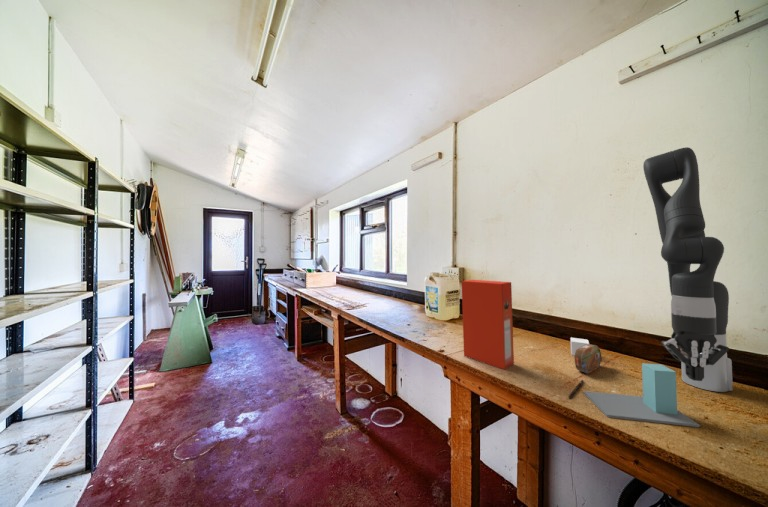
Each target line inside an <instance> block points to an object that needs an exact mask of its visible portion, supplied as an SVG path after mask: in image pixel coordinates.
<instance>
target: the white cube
mask: <svg viewBox="0 0 768 507" xmlns="http://www.w3.org/2000/svg"><path fill="white" fill-rule="evenodd" d="M587 344H590V342H589V340H588V339H586V338H585V339H584V338H577V337H570V353H571V356H573V357H574V356H575V352H576V350H577V349H578V348H580V347H583V346H585V345H587Z"/></svg>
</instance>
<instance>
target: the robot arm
mask: <svg viewBox="0 0 768 507" xmlns="http://www.w3.org/2000/svg"><path fill="white" fill-rule="evenodd" d="M642 167H643V172H644V173H643V174H644V177H645V180H646V183H647V186H648V189H649V192H650V195H651V196H650V197H651V198H652V202H653V204H654V209H655V215H656V219H657V225H658V230H659V231H658V232H659V235H660V239H661V242H662V246H661V249H660V250H661V251H660V256H661V258H662V259H663V260H664V262H666V265H667V271H668V282H669V290H670V295H671V296H670V297H671V300H670V310H671V312H670V315H671V316H670V317H671V328H672V334H671V335H670V336H671V338H670V339H668V340H662V341H661V345H662V346H663V348H665V349H666V351H667V352H668V353H670V355H671V356H672V357H673V358H674V359H675V360H677V361H679V362H681V363H680V364H681V365H680V366H681V368H680V369H681V380H682V381H683V382H684V383H685V384H688V385H690V386H693V387H695V388H699V389H702V390H707V391H712V392H719V393H726V392H729V391H731V392H733V390H734V388H733V365H732V364H733V362H732V359H731V358H729V357H728V352H729V351H730V348H729V346H728V345H727V344H728V343H727V327H728V324H729V323H728V322H729V303H730V301H729V300H730V295H729V290H728V288H727V287H726V285H725V284H724V283H722V282H720V281H714V280H715V275H716V273H717V269H718V266H719V264H720V263H721V260H722V258H723V255H724V253H725V247H724V243H723V242H722V241H721V240H720V239H718V238H717V237H713V236H706V233H705V229H706V220H705V217H704V215H703V214H704V213H703V210H702V206H701V201H700V200H701V198H700V173H699V164H698V158H697V156H696V152H695V151H694V150H693V148H691V147H681V148H677V149H674V150H670V151H668V152H664V153H661V154H657V155H655V156H654V155H653V156H651V157H648V158H646V159H645V160H644V161H643V166H642ZM678 180H681V183H680V184H679V187H678V188H677V189H676V191H675V192H674V193H673V194H672V195H671V194H670V193H668V191H667V190H666V189H665V188H664V185H663V184H666V183H670V182H675V181H678ZM692 265H699V266H698V268H697V269H695V270H693V271H691V266H692ZM679 349H680V350H679Z"/></svg>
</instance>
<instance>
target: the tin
mask: <svg viewBox="0 0 768 507" xmlns="http://www.w3.org/2000/svg"><path fill="white" fill-rule="evenodd" d="M573 357H574V365H575V369H576V370H577V371H578V372H581V373H585V374H590V373H592V372H593V371H596V370H597V369H599V367H600V365H601V361H602V352H601V350H600V347H599V346H598V345H596V344H590V343H589V344H587V345H585V346H583V347H580V348H578V349H577V350H576V352H575V356H573Z"/></svg>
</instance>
